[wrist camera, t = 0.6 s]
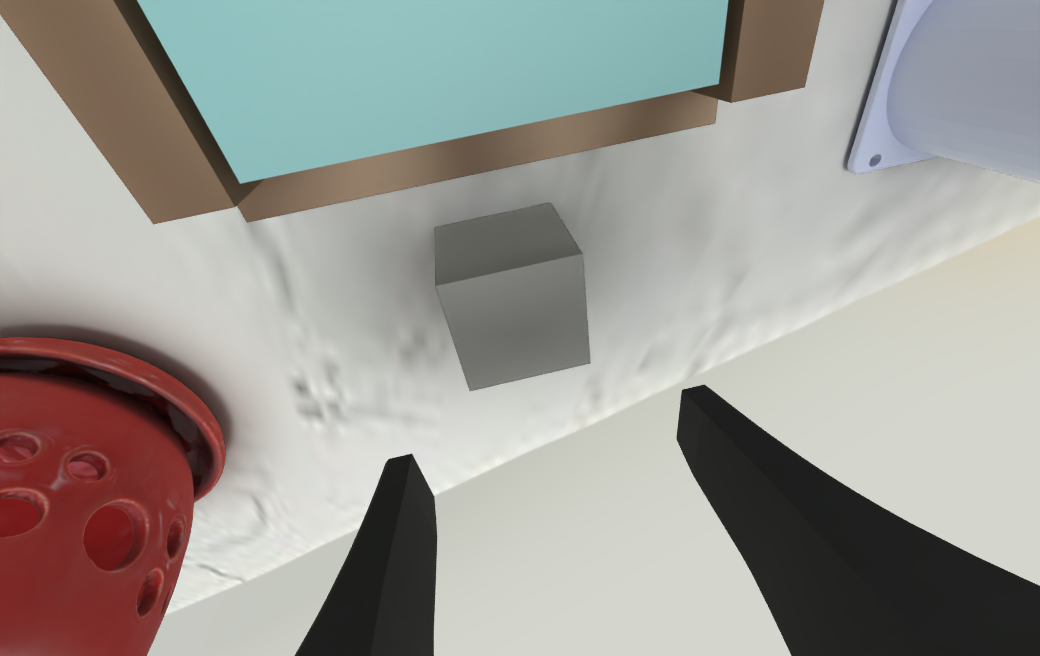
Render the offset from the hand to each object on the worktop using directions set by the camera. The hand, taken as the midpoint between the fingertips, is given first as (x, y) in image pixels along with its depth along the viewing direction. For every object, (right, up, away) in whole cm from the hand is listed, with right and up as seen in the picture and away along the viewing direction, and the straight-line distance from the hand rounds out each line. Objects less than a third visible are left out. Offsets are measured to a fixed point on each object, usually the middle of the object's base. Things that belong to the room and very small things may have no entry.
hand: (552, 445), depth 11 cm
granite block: (-2, +6, +8) cm, 10 cm away
